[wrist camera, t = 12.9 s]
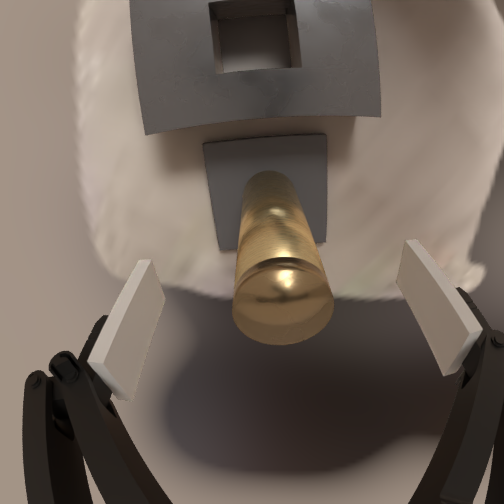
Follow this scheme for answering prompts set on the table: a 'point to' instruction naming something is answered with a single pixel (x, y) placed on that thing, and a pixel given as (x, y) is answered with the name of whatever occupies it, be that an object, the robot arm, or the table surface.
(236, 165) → the mat
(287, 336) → the gold metal cylinder
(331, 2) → the housing
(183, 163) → the table surface
